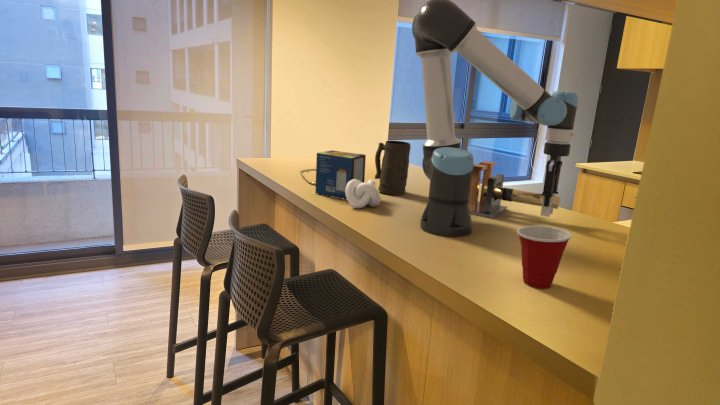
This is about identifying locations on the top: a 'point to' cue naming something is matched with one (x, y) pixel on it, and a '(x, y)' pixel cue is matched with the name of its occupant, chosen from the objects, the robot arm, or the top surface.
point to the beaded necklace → (307, 171)
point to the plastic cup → (541, 253)
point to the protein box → (338, 172)
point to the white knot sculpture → (362, 193)
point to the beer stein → (393, 167)
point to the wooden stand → (489, 203)
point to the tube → (521, 196)
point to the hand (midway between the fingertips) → (546, 214)
